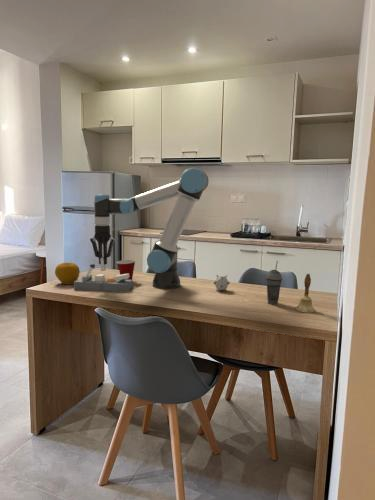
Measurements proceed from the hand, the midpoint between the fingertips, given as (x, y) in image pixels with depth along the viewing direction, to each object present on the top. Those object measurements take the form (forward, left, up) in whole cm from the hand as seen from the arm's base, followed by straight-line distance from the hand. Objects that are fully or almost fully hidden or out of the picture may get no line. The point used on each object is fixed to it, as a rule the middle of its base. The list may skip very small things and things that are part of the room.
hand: (103, 270), depth 188 cm
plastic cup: (-7, -17, -10) cm, 21 cm away
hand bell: (-98, +21, -10) cm, 101 cm away
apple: (+23, -7, -10) cm, 26 cm away
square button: (+2, 0, -7) cm, 7 cm away
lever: (+9, 0, -5) cm, 10 cm away
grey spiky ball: (-61, -6, -10) cm, 62 cm away
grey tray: (0, 0, -10) cm, 10 cm away
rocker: (-10, 0, -3) cm, 11 cm away
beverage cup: (-85, +13, -10) cm, 87 cm away
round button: (-4, 0, -8) cm, 9 cm away
